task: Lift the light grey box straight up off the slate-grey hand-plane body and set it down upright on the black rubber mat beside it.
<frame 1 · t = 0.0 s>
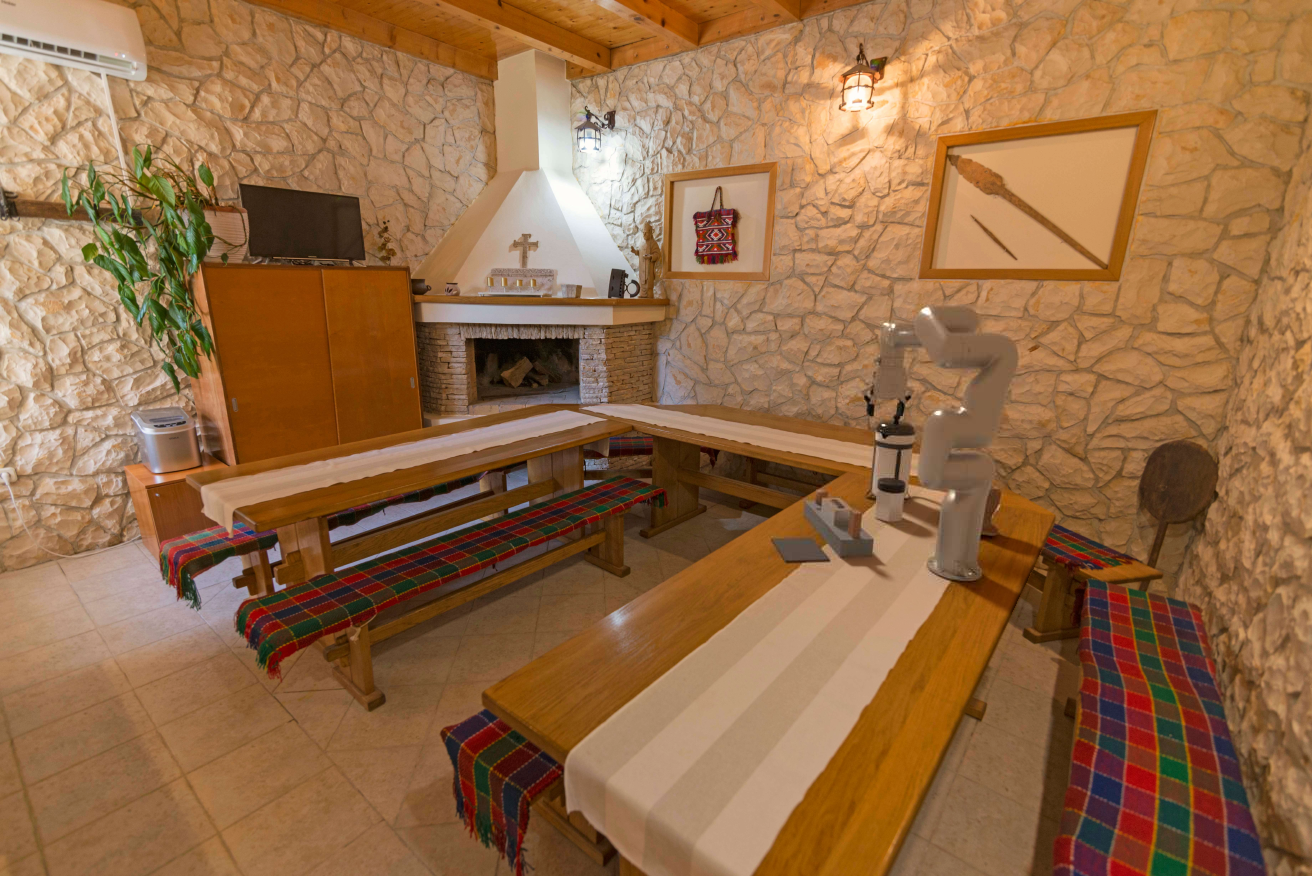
hand: (884, 415, 181), 31 cm above the table, fingers open, 9 cm apart
light grey box: (836, 518, 166), point 5 cm above the table, touching plane body
jar: (887, 517, 180), on the table
rubber mat: (799, 550, 156), on the table
plane body: (834, 534, 167), on the table
coffee press: (888, 497, 198), on the table
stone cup: (968, 530, 171), on the table
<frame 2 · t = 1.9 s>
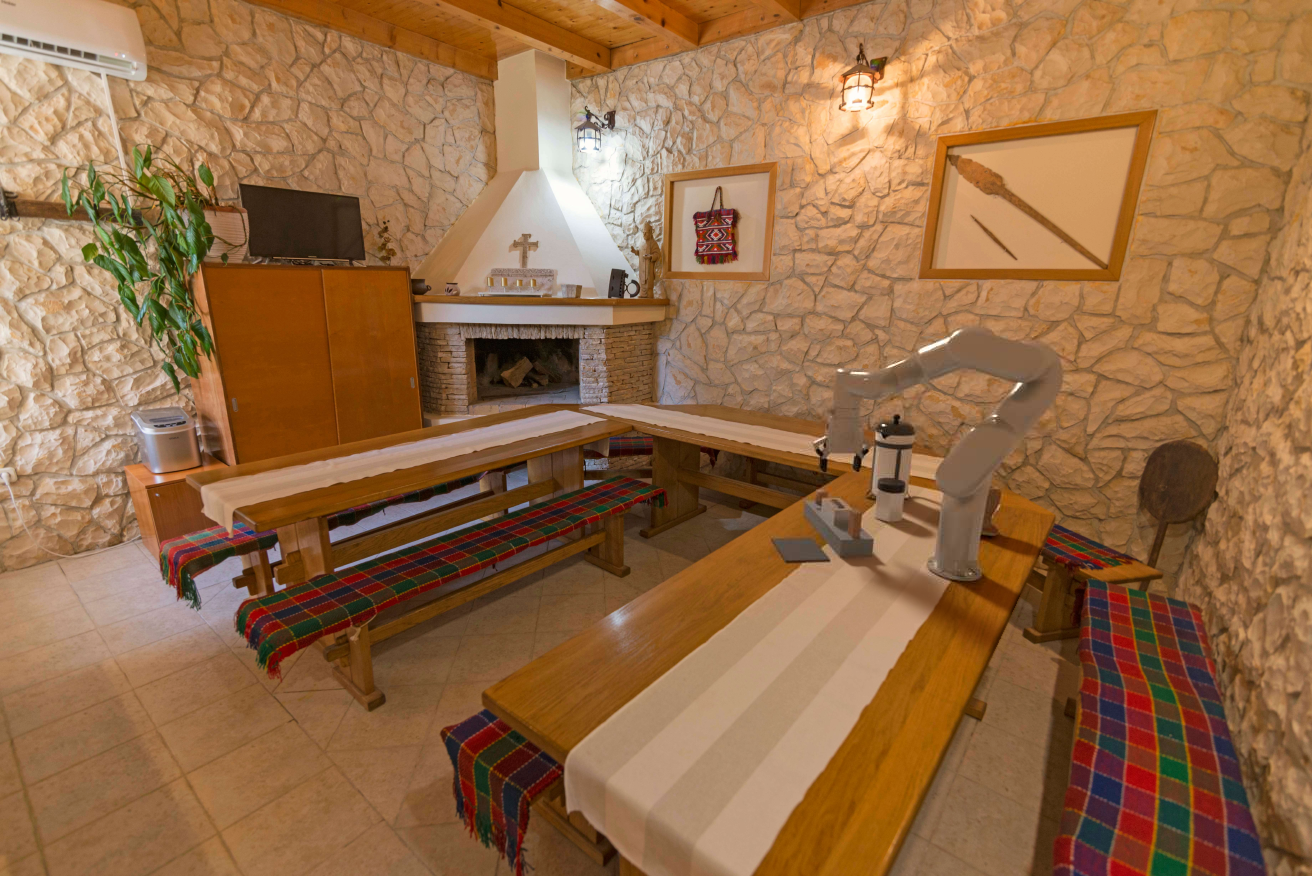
hand: (839, 470, 162), 20 cm above the table, fingers open, 9 cm apart
nothing on the table moved.
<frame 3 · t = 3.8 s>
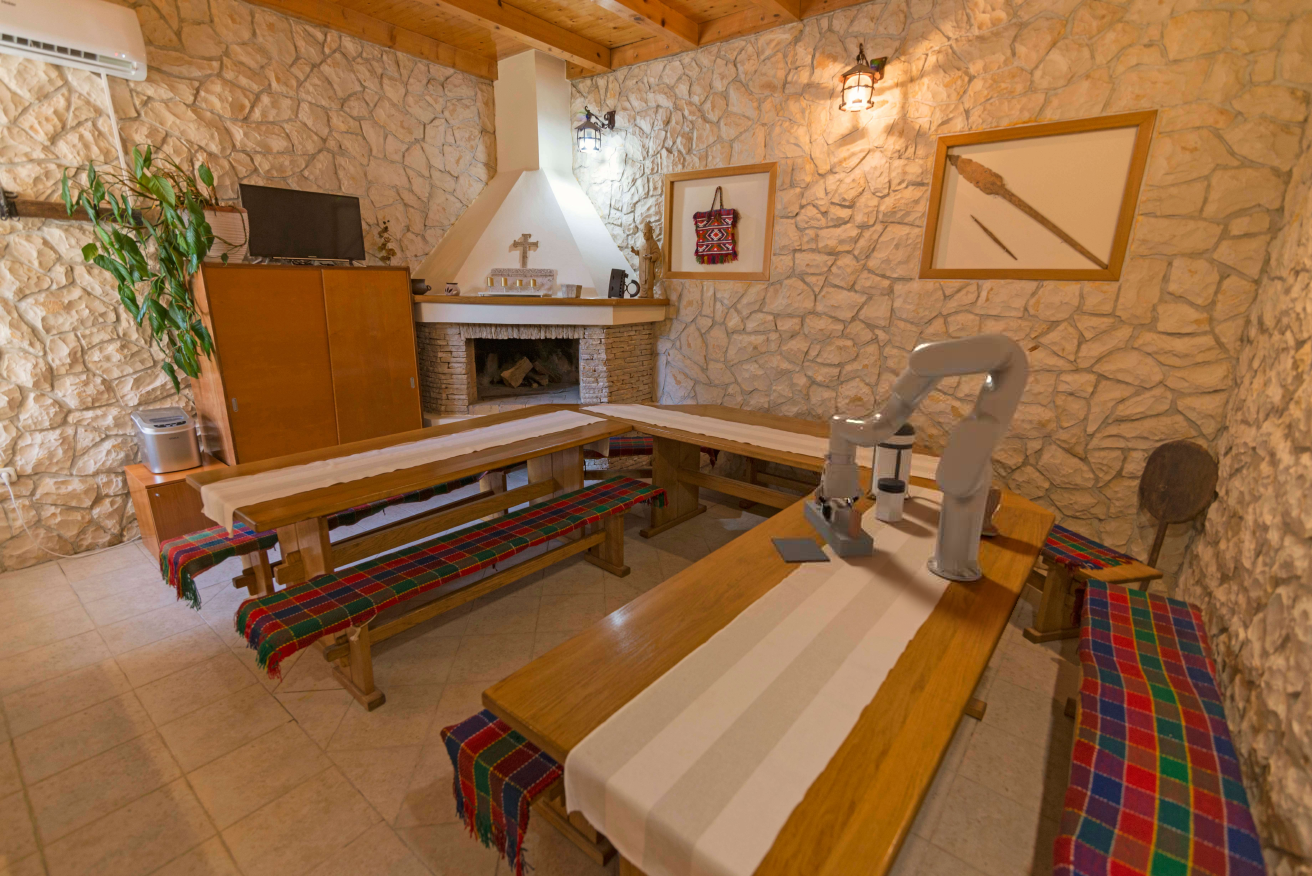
hand: (836, 516, 165), 6 cm above the table, fingers closed on light grey box, 5 cm apart
light grey box: (836, 518, 166), point 5 cm above the table, touching gripper, plane body
everything else where it was.
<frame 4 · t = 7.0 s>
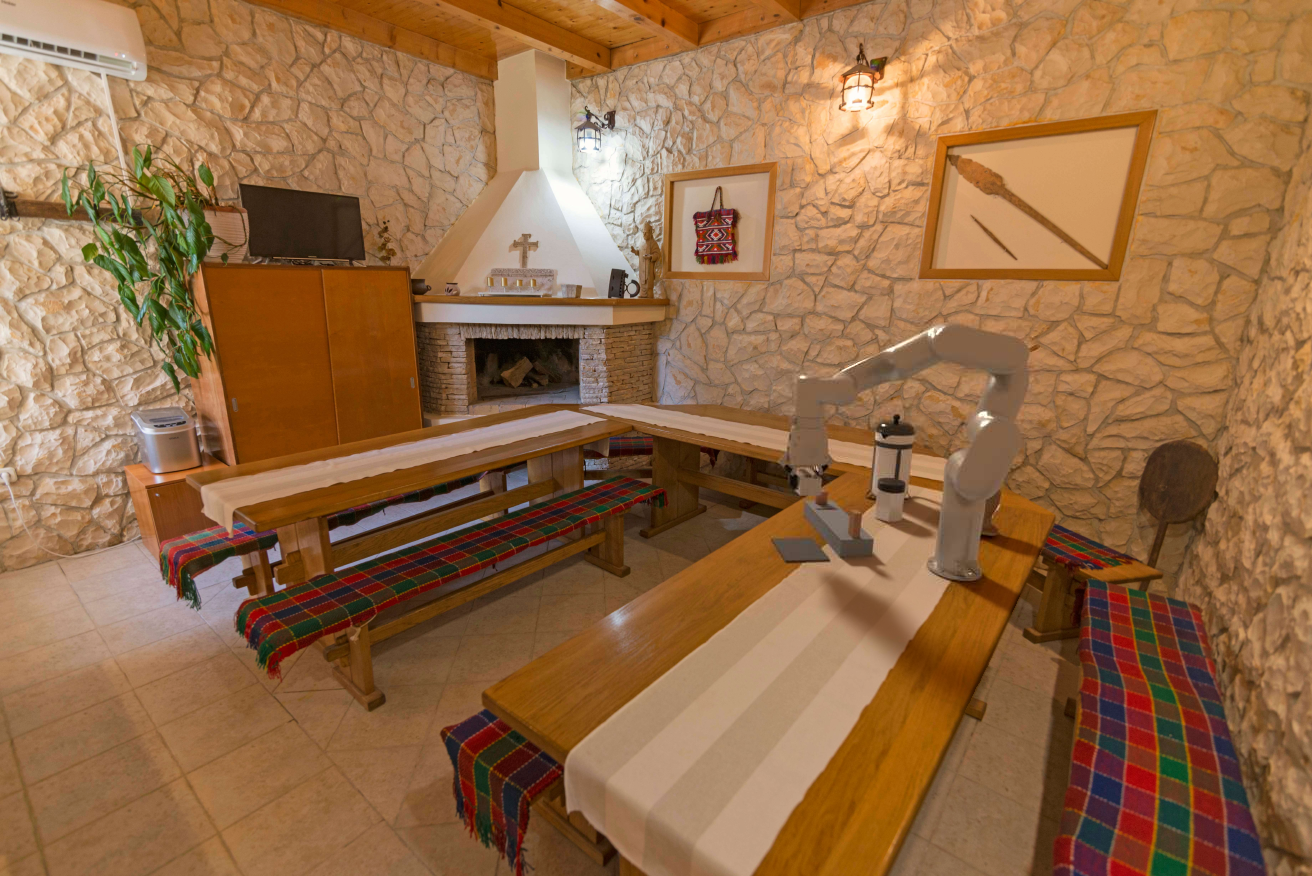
hand: (804, 487, 152), 18 cm above the table, fingers closed on light grey box, 5 cm apart
light grey box: (803, 489, 152), point 18 cm above the table, touching gripper
everything else where it was.
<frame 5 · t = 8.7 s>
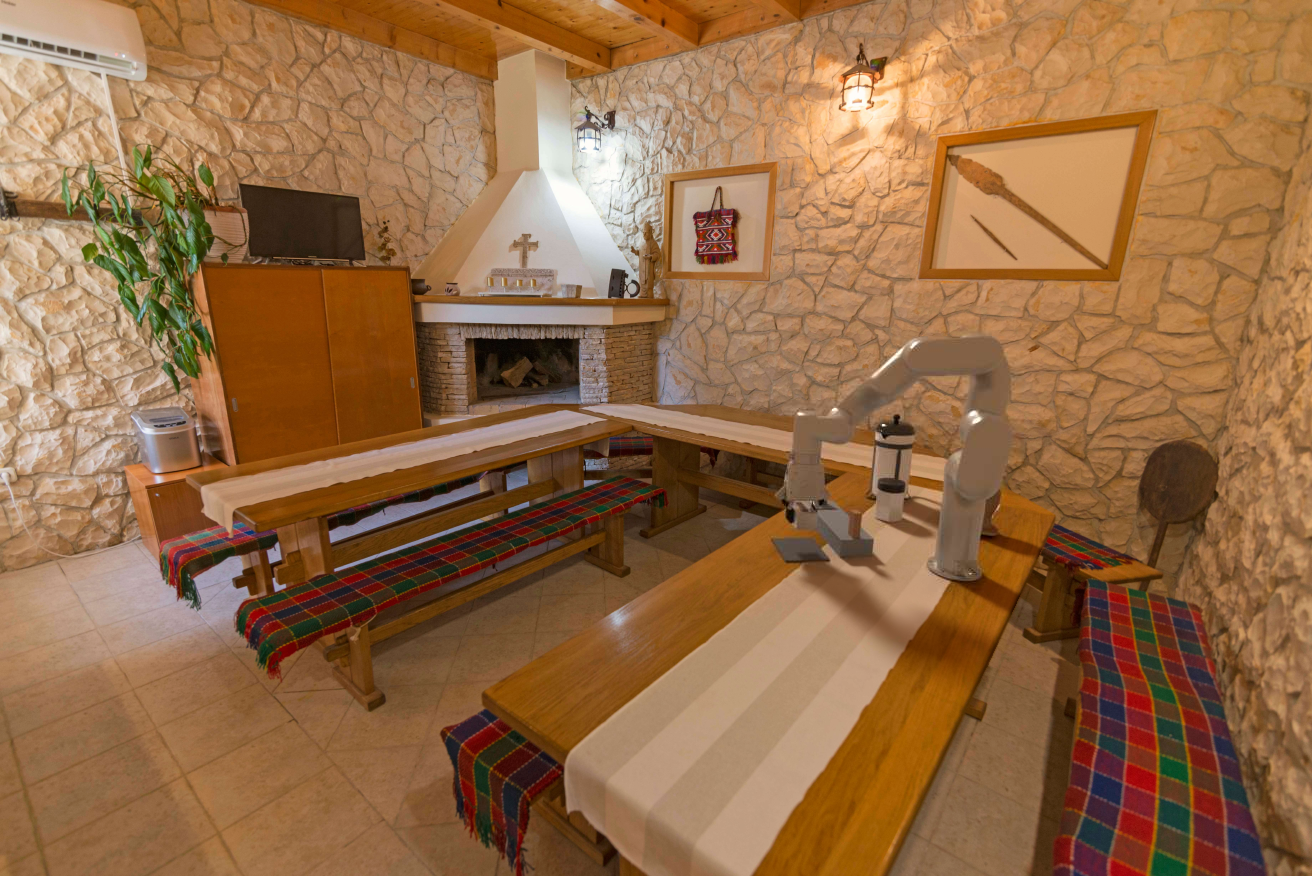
hand: (800, 520, 154), 9 cm above the table, fingers closed on light grey box, 5 cm apart
light grey box: (800, 522, 154), point 8 cm above the table, touching gripper
everything else where it was.
when the fingers open (3 cm above the table, at t = 10.3 s): light grey box drops 2 cm, resting on rubber mat.
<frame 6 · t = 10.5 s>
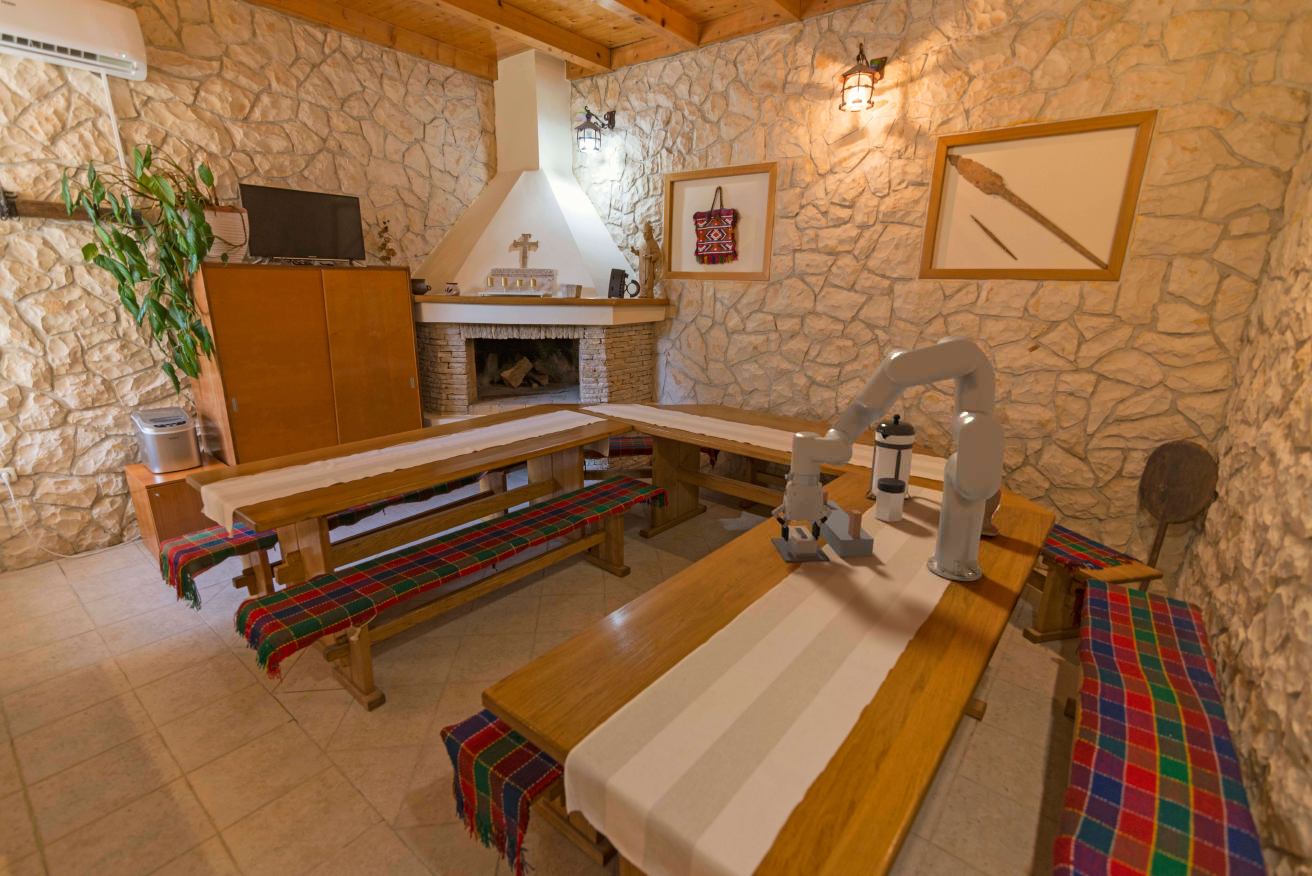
hand: (800, 538, 155), 3 cm above the table, fingers open, 7 cm apart
light grey box: (799, 548, 156), resting on rubber mat
everything else where it was.
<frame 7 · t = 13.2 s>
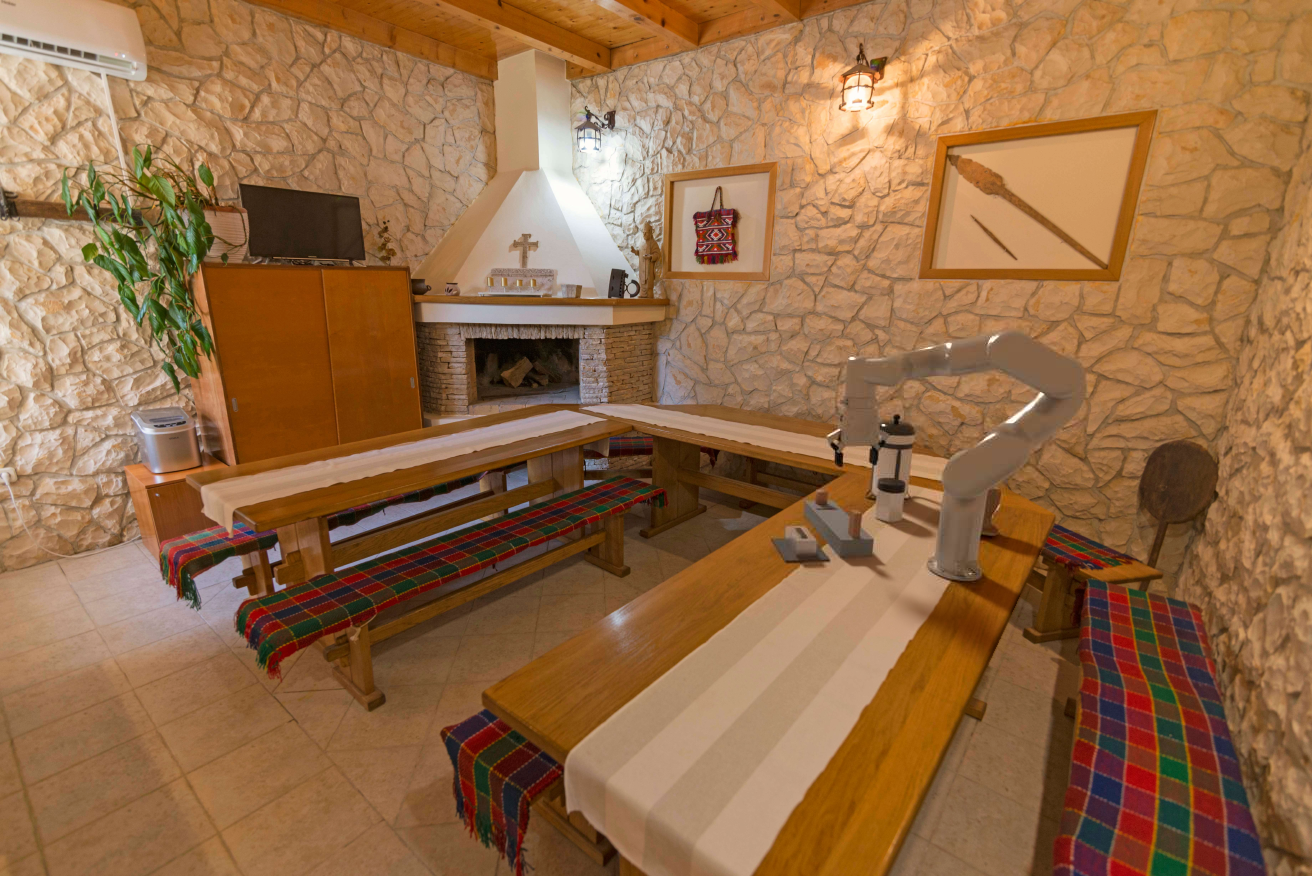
hand: (855, 464, 154), 24 cm above the table, fingers open, 9 cm apart
nothing on the table moved.
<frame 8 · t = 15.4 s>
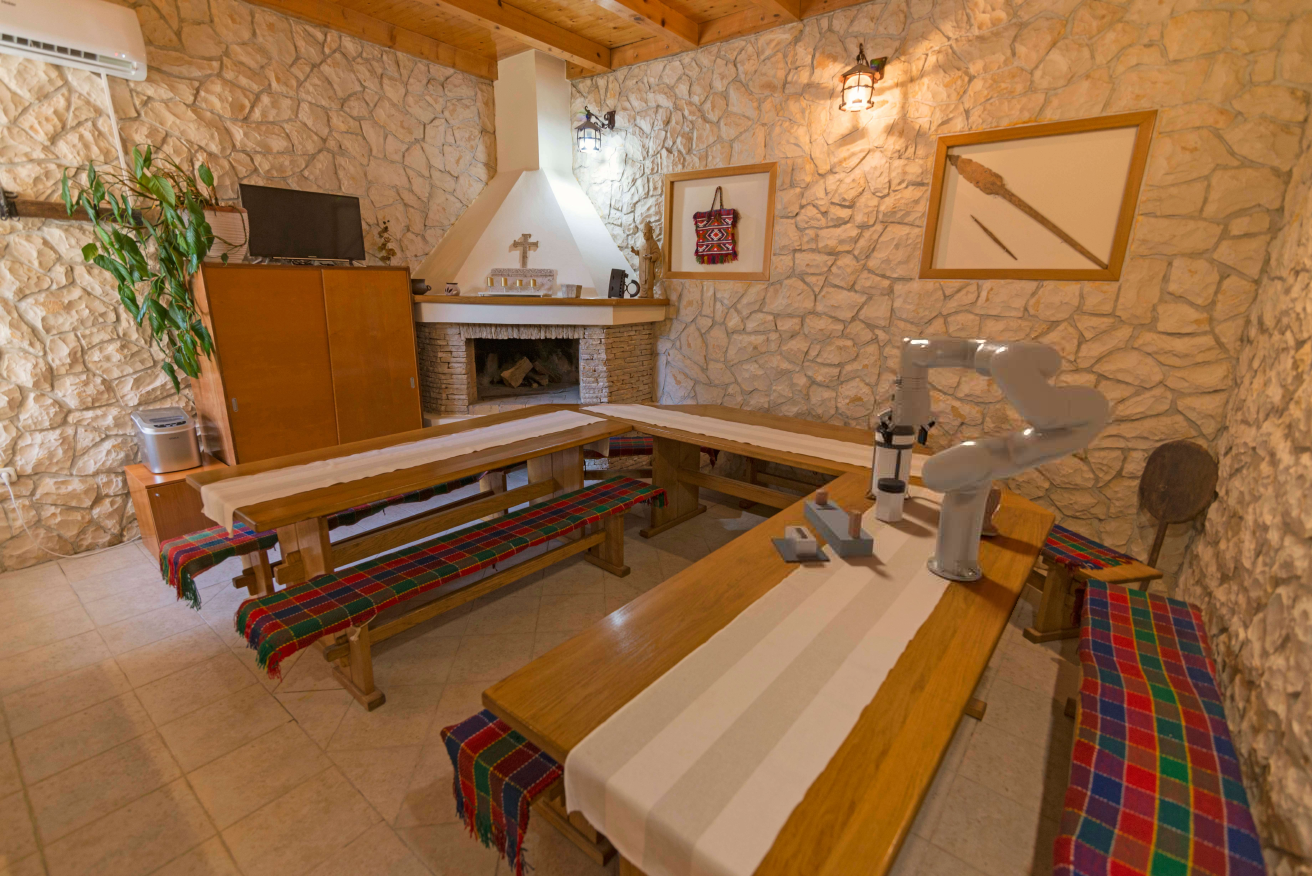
hand: (904, 444, 157), 28 cm above the table, fingers open, 9 cm apart
nothing on the table moved.
at the end: light grey box inside the target area on the rubber mat (0.1 cm from its centre), point 0.5 cm above the rubber mat's base; light grey box tilted 0°; the gripper is holding nothing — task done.
